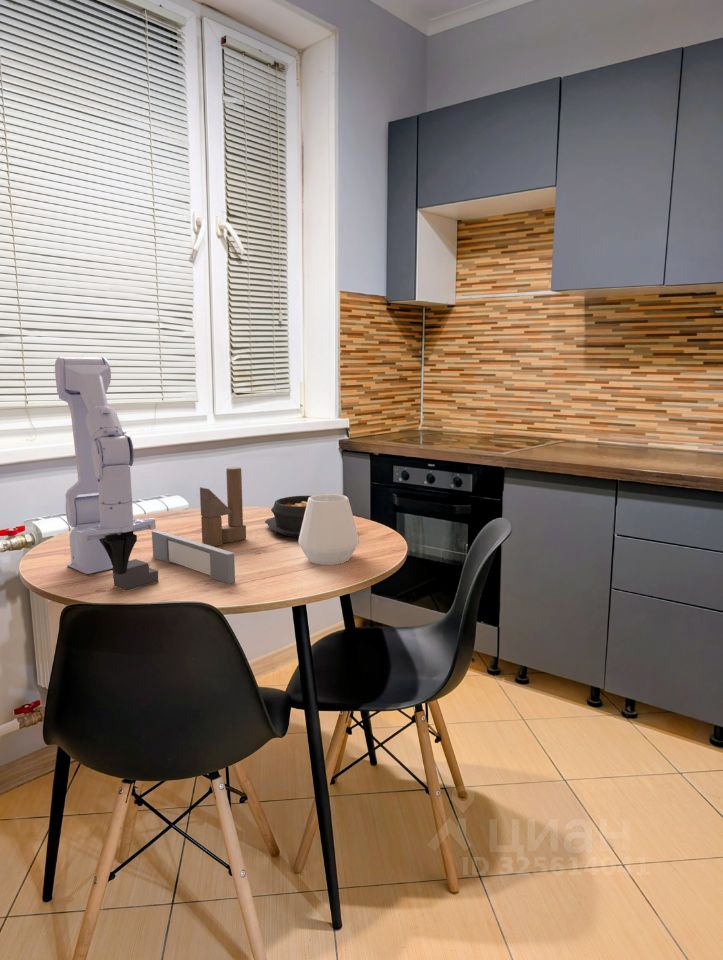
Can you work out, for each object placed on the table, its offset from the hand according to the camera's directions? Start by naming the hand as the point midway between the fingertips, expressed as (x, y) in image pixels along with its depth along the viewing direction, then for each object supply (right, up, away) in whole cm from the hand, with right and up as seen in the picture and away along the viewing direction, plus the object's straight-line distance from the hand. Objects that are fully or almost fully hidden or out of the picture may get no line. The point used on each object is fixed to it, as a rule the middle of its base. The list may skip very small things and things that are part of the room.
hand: (120, 572), depth 126 cm
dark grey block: (+1, -3, +7) cm, 8 cm away
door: (+9, -1, +17) cm, 19 cm away
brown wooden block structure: (+12, +2, +38) cm, 40 cm away
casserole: (+30, +4, +48) cm, 57 cm away
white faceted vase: (+38, 0, +24) cm, 45 cm away
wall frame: (+9, -1, +17) cm, 19 cm away
